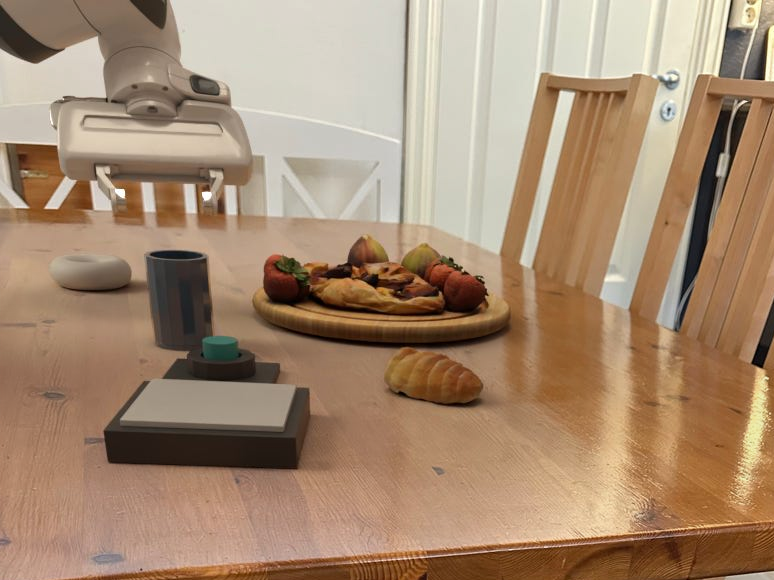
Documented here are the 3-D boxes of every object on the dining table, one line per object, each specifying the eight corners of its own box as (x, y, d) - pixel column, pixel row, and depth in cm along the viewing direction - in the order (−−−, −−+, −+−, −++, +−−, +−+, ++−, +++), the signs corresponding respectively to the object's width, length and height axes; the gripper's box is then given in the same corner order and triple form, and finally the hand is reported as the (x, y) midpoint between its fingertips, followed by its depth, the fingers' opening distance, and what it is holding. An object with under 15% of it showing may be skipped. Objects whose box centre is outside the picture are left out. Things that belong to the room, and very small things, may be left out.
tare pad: (160, 390, 85) (157, 363, 84) (177, 367, 92) (175, 341, 91) (271, 395, 86) (269, 368, 85) (280, 371, 93) (279, 346, 92)
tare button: (201, 362, 86) (199, 343, 86) (207, 353, 89) (205, 334, 88) (236, 363, 87) (234, 344, 86) (241, 355, 90) (239, 336, 89)
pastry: (495, 396, 91) (498, 357, 89) (459, 413, 85) (462, 372, 83) (414, 378, 94) (415, 339, 92) (376, 393, 89) (376, 352, 87)
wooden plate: (253, 347, 100) (248, 266, 96) (252, 287, 127) (249, 222, 123) (538, 351, 107) (545, 275, 103) (481, 293, 134) (484, 231, 129)
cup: (148, 350, 97) (138, 258, 92) (161, 336, 102) (152, 248, 97) (209, 353, 97) (202, 261, 93) (219, 338, 102) (212, 251, 98)
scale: (107, 462, 69) (101, 423, 68) (147, 409, 81) (142, 374, 79) (297, 469, 71) (295, 430, 69) (310, 415, 82) (309, 381, 80)
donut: (50, 279, 124) (53, 293, 116) (45, 251, 122) (49, 263, 114) (129, 278, 127) (137, 291, 120) (125, 251, 126) (134, 263, 118)
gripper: (42, 72, 97) (58, 186, 94) (243, 85, 103) (262, 193, 101) (51, 118, 102) (65, 227, 100) (239, 128, 109) (258, 231, 106)
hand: (166, 210), depth 100 cm, fingers open, 8 cm apart
